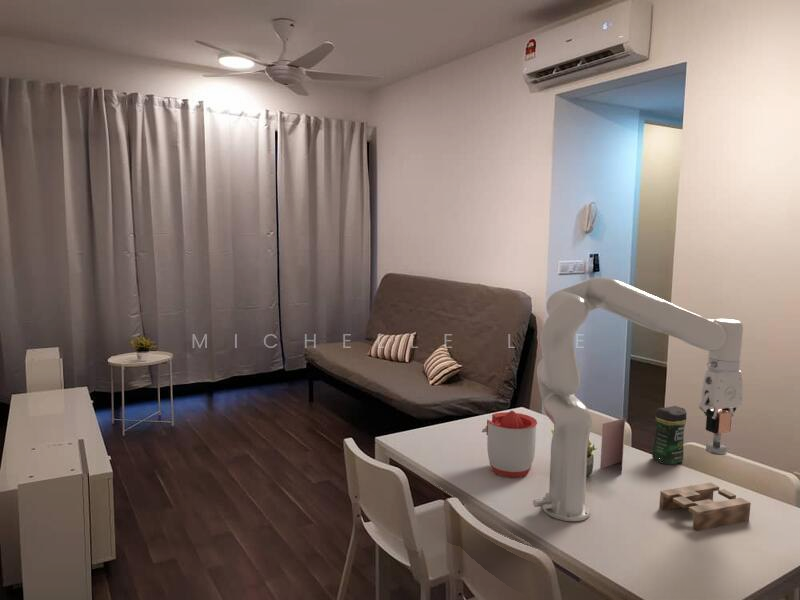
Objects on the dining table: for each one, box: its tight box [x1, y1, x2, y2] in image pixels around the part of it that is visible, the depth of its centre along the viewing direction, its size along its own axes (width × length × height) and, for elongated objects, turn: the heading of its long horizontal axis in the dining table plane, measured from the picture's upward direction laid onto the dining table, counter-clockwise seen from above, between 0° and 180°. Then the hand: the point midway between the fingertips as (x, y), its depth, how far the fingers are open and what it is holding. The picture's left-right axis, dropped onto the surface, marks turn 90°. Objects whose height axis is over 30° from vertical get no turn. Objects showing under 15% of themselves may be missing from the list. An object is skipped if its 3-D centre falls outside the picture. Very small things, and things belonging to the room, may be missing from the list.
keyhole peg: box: [705, 408, 732, 456], centre depth 159 cm, size 5×5×12 cm
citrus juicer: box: [481, 410, 538, 479], centre depth 186 cm, size 16×17×20 cm
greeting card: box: [599, 417, 626, 475], centre depth 190 cm, size 11×7×15 cm, turn 122°
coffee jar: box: [651, 405, 688, 465], centre depth 196 cm, size 10×8×19 cm
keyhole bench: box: [658, 482, 752, 531], centre depth 159 cm, size 18×13×5 cm
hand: (717, 430), depth 159 cm, fingers closed on keyhole peg, 4 cm apart
